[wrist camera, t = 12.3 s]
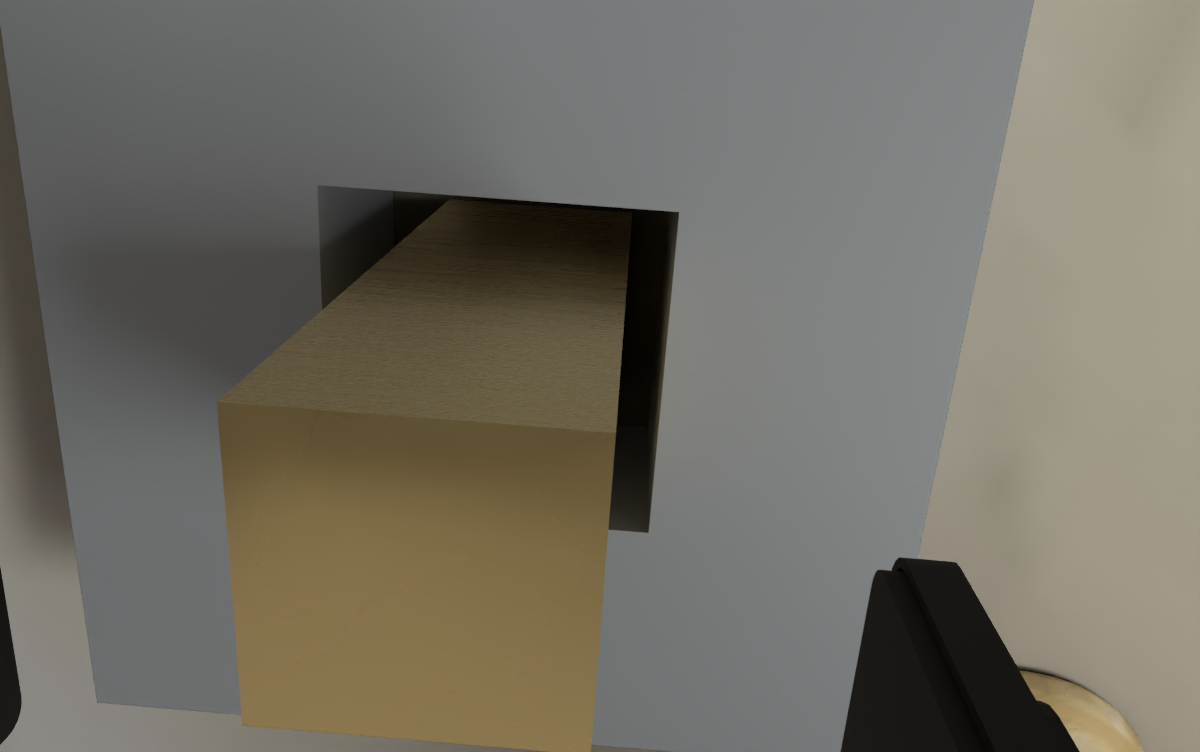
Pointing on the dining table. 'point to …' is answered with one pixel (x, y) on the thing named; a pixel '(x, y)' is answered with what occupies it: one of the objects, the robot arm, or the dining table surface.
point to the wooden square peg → (435, 488)
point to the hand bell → (1084, 715)
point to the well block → (544, 174)
